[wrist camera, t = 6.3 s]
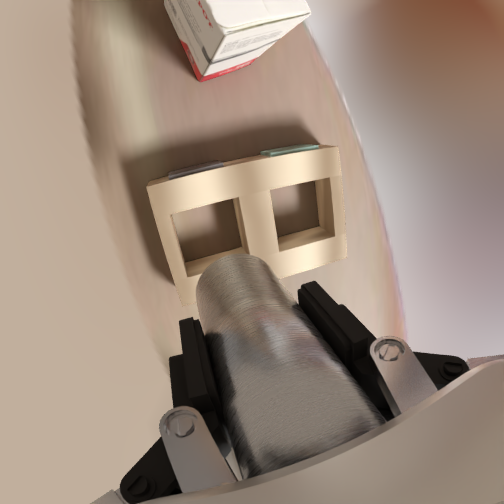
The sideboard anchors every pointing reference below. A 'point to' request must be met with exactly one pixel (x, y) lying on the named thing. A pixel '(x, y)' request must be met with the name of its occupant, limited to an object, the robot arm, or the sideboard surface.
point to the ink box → (231, 30)
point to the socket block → (255, 210)
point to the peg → (275, 370)
